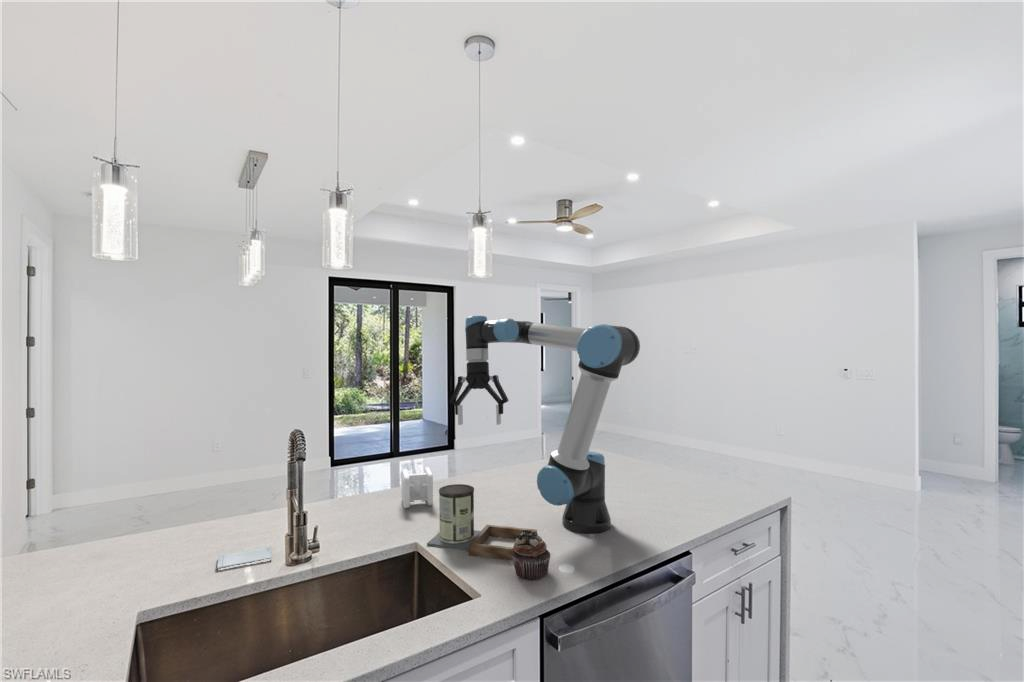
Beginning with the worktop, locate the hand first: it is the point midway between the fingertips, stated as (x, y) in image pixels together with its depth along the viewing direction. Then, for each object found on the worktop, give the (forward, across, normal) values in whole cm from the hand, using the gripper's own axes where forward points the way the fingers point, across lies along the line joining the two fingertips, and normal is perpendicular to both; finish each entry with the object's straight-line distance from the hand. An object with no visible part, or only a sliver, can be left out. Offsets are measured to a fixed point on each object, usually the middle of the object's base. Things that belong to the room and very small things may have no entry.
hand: (479, 424), depth 163 cm
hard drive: (+30, +51, +48) cm, 76 cm away
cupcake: (+33, -24, +36) cm, 55 cm away
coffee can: (+31, +1, +21) cm, 37 cm away
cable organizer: (+29, +27, -7) cm, 41 cm away
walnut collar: (+32, -14, +23) cm, 42 cm away
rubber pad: (+31, +1, +21) cm, 37 cm away
